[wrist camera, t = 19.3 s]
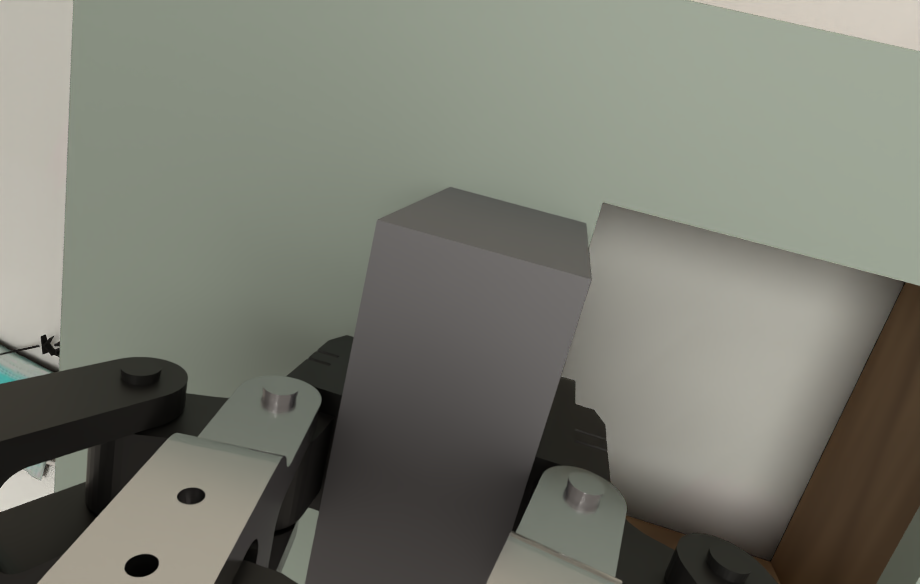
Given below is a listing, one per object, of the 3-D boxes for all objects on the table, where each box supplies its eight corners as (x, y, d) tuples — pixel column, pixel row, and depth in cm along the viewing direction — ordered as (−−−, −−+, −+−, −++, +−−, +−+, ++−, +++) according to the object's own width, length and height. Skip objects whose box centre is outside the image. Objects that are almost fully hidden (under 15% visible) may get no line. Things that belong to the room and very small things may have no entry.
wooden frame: (210, 410, 23) (116, 482, 18) (263, -9, 19) (156, -55, 14) (792, 601, 21) (856, 741, 16) (1011, 169, 16) (1190, 185, 11)
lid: (79, 501, 19) (-139, 664, 13) (112, -116, 14) (-219, -293, 8) (878, 784, 16) (1045, 1147, 10) (1287, 145, 11) (2056, 162, 5)
